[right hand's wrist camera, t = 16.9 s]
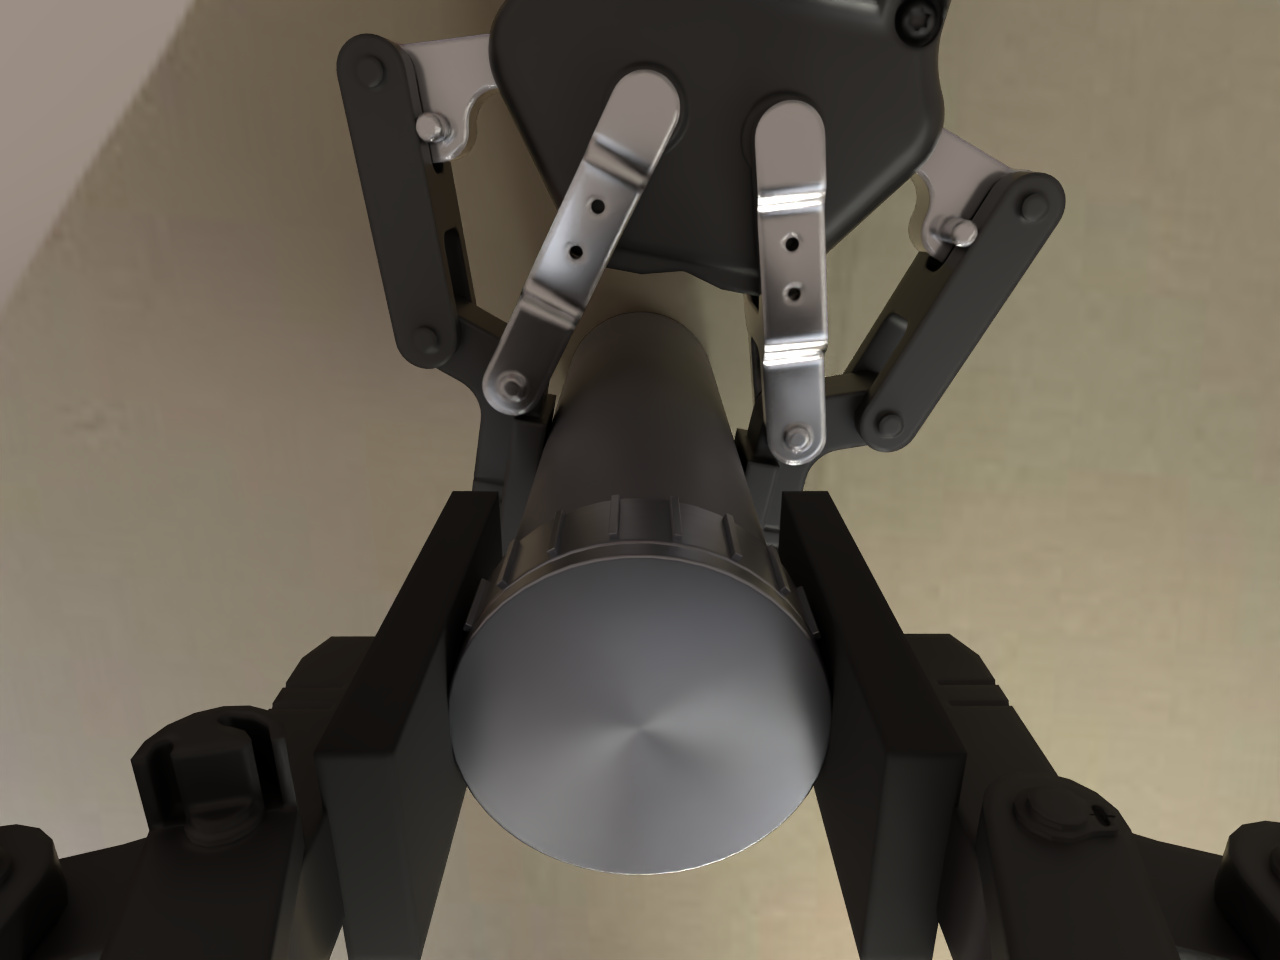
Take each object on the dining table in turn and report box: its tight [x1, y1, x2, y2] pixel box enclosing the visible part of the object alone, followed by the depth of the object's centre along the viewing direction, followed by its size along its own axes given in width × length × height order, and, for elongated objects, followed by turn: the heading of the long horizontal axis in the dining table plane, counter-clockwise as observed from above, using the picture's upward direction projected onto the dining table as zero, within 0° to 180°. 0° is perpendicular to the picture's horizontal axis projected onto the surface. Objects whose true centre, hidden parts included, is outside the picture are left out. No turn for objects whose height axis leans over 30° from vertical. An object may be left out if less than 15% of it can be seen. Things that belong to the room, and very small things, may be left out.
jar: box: [516, 312, 767, 547], centre depth 18 cm, size 4×4×15 cm
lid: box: [447, 495, 833, 875], centre depth 11 cm, size 5×5×2 cm
